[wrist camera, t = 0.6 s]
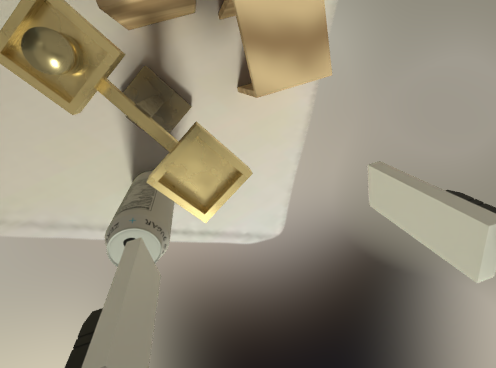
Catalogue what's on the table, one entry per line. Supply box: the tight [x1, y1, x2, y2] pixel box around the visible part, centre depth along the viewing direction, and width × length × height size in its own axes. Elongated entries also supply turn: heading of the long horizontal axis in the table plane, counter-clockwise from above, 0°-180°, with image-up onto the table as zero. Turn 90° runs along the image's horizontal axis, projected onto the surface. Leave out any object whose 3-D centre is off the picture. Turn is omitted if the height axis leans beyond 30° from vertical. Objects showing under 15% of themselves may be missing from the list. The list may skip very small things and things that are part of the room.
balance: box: [0, 0, 253, 223], centre depth 26 cm, size 19×6×17 cm, turn 45°
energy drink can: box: [105, 171, 174, 267], centre depth 31 cm, size 6×6×15 cm
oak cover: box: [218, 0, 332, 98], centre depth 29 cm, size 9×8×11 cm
